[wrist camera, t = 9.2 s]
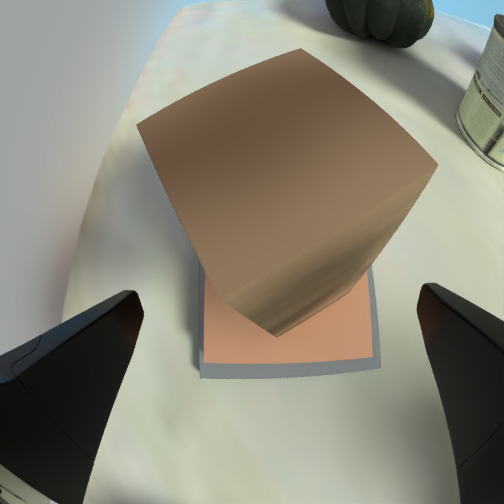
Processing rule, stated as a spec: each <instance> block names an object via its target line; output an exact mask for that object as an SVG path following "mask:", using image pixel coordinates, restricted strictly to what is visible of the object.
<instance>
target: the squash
mask: <svg viewBox="0 0 504 504" xmlns="http://www.w3.org/2000/svg"><path fill="white" fill-rule="evenodd" d="M325 1H326V6H327V8H328V10H329V13H330V15H331V17H332V19H333V20H334V21H335V23H336V24H337V25H338V26H339V27H341V28H342V29H344V30H345V31H348V32H351V33H355V34H358V35H360V36H363V37H367V36H370V35H373V36H374V37H375V38H377V39H384V40H385V41H386V42H387V43H388V44H390V45H392V46H394V47H398V48H407V47H410V46H412V45H413V44H414V43H415V42H416V41H417V40H420V39H422V38H423V37H424V36H425V35H426V34H427V33H428V31H429V29H430V28H431V26H432V22H433V19H434V7H433V2H432V0H325Z"/></svg>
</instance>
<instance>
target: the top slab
mask: <svg viewBox="0 0 504 504" xmlns="http://www.w3.org/2000/svg"><path fill="white" fill-rule="evenodd" d="M368 357H373V351H372V327H371V311H370V298H369V286H368V276H367V271H366V272H365V274H364V275H363V276H362V277H361V279H360V280H359V281H358V283H357V284H356V285H355V286H354V288H353V289H352V290H351V291H350V293H348V294H347V295H345V296H343V297H342V298H340V299H339V300H337V301H336V302H334V303H333V304H331V305H330V306H328V307H327V308H325V309H323V310H322V311H320V312H319V313H317V314H316V315H314V316H312V317H311V318H309V319H307V320H306V321H304V322H303V323H301V324H299V325H298V326H296V327H294V328H293V329H291V330H289V331H288V332H286V333H284V334H283V335H281V336H279V337H277V338H276V337H275V336H273V335H272V334H270V333H269V332H267V331H266V330H264V329H263V328H261V327H260V326H258V325H257V324H255V323H254V322H252V321H251V320H249V319H248V318H246V317H245V316H243V315H242V314H240V313H239V312H237V311H236V310H234V309H233V308H232V307H230V306H229V305H227V304H226V303H224V302H223V301H221V300H220V298H219V296H218V295H217V293H216V291H215V289H214V287H213V285H212V283H211V281H210V279H209V277H208V276H207V274H206V272H205V301H204V363H229V364H278V363H305V362H323V361H336V360H348V359H358V358H368Z"/></svg>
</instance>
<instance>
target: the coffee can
mask: <svg viewBox="0 0 504 504" xmlns="http://www.w3.org/2000/svg"><path fill="white" fill-rule="evenodd" d="M456 120H457V124H458V126H459V129H460V131H461V133H462V134H463V136H464V138H465V139H466V141H467V142H468V143H469V144H470V146H471V147H472V148H473V149H474V151H475V152H476V153H477V154H478V155H479V156H480V157H481V158H483V159H484V160H485V161H486V162H487V163H489V164H490V165H491V166H493V167H495V168H497V169H499V170H501V171H503V172H504V16H503V15H500V14H496V15H495V17H494V25H493V28H492V30H491V33H490V36H489V39H488V41H487V44H486V47H485V49H484V52H483V54H482V57H481V59H480V62H479V64H478V66H477V69H476V71H475V73H474V76H473V78H472V80H471V83H470V85H469V87H468V89H467V91H466V93H465V96H464V98H463V100H462V102H461V104H460V106H459V107H458V108H457V111H456Z"/></svg>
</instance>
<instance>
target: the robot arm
mask: <svg viewBox="0 0 504 504" xmlns="http://www.w3.org/2000/svg"><path fill="white" fill-rule="evenodd" d="M417 315H418V319H419V323H420V327H421V331H422V335H423V339H424V343H425V348H426V352H427V355H428V358H429V361H430V364H431V367H432V371H433V374H434V377H435V380H436V384H437V387H438V390H439V394H440V398H441V401H442V405H443V409H444V413H445V417H446V421H447V425H448V429H449V434H450V438H451V443H452V448H453V453H454V458H455V464H456V469H457V478H458V485H459V493H460V502H461V504H504V321H502V320H501V319H499V318H497V317H496V316H494V315H492V314H491V313H489V312H487V311H485V310H484V309H482V308H480V307H478V306H477V305H475V304H473V303H471V302H470V301H468V300H466V299H464V298H462V297H461V296H459V295H457V294H455V293H453V292H451V291H450V290H448V289H446V288H444V287H442V286H440V285H438V284H437V283H424V284H423V285H422V287H421V291H420V295H419V299H418V303H417ZM143 318H144V311H143V308H142V305H141V302H140V299H139V296H138V293H137V292H136V291H134V290H124V291H122V292H120V293H118V294H116V295H114V296H112V297H110V298H108V299H106V300H105V301H103V302H101V303H99V304H97V305H95V306H93V307H91V308H89V309H88V310H86V311H84V312H82V313H80V314H78V315H76V316H74V317H73V318H71V319H69V320H67V321H65V322H63V323H61V324H60V325H58V326H56V327H54V328H52V329H50V330H49V331H47V332H45V333H43V335H39V336H38V337H36V338H34V339H32V340H30V341H28V342H27V343H25V344H23V345H21V346H19V347H17V348H15V349H13V350H11V351H9V352H7V353H5V354H3V355H1V356H0V504H49V502H50V500H53V501H54V502H56V503H58V504H83V500H84V496H85V493H86V489H87V485H88V482H89V478H90V475H91V472H92V468H93V465H94V461H95V458H96V455H97V452H98V449H99V445H100V442H101V439H102V436H103V433H104V430H105V428H106V425H107V422H108V419H109V416H110V413H111V410H112V408H113V405H114V402H115V399H116V397H117V394H118V391H119V389H120V386H121V383H122V381H123V378H124V376H125V373H126V371H127V368H128V365H129V363H130V360H131V358H132V355H133V352H134V349H135V345H136V342H137V338H138V335H139V331H140V328H141V325H142V321H143Z"/></svg>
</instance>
